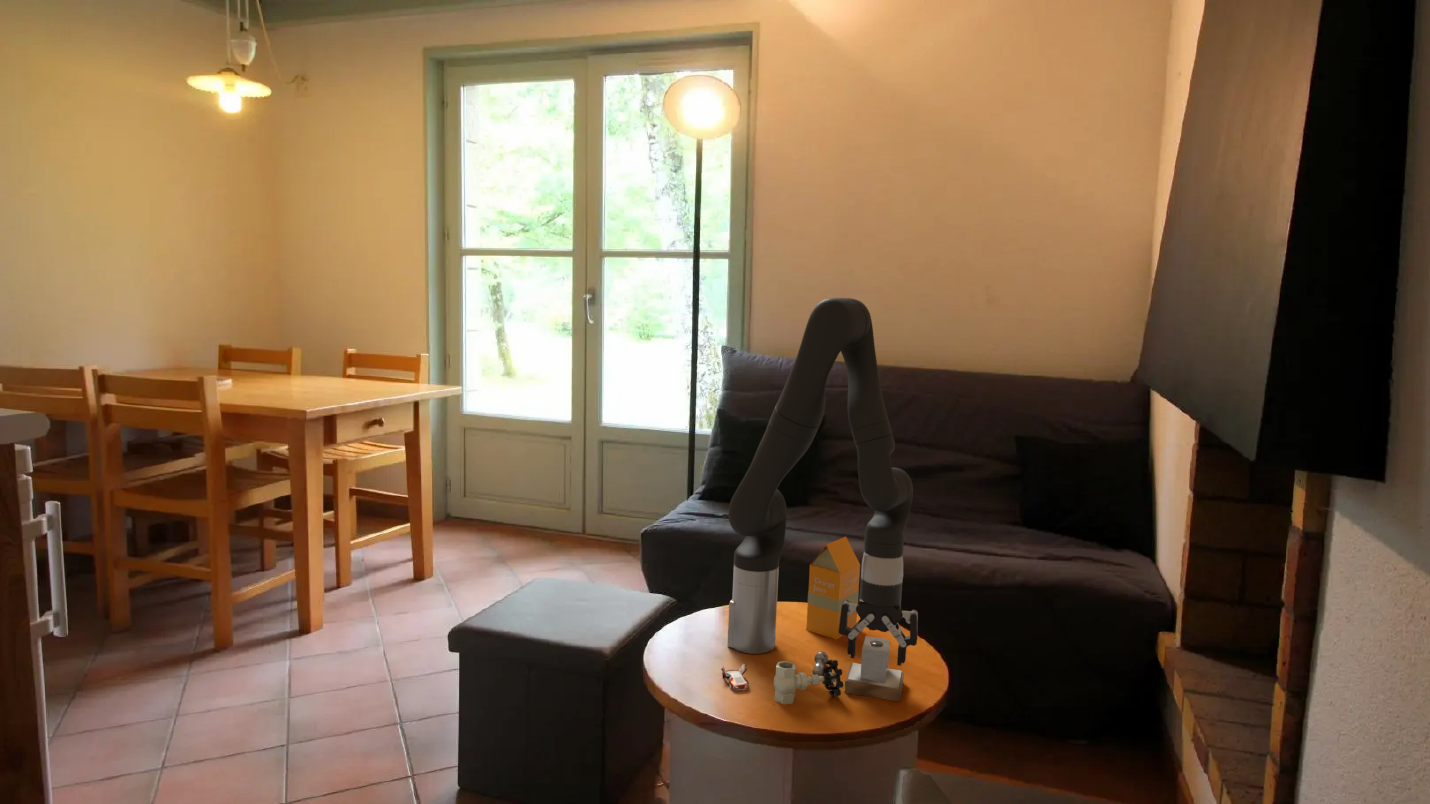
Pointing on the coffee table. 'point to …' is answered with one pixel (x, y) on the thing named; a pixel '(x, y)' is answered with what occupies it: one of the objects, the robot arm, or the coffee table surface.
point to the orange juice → (832, 588)
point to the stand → (874, 684)
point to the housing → (875, 659)
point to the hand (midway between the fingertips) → (876, 660)
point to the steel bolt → (820, 662)
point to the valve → (804, 680)
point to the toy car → (736, 678)
